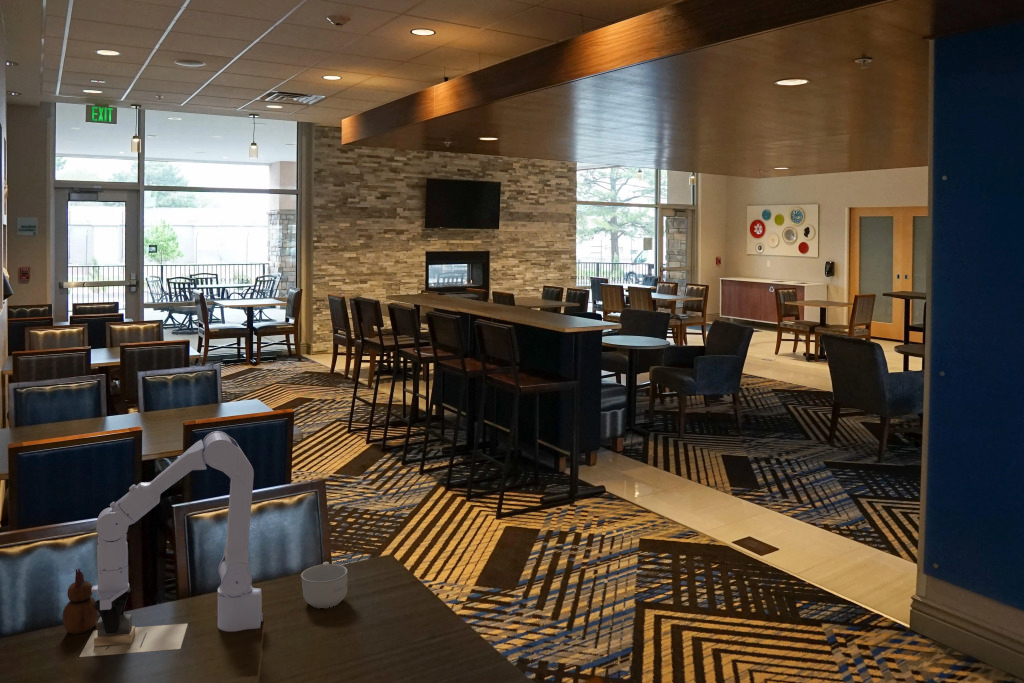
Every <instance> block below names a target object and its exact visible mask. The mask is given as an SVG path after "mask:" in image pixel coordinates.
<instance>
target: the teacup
mask: <svg viewBox="0 0 1024 683" xmlns="http://www.w3.org/2000/svg"><path fill="white" fill-rule="evenodd" d="M348 573H349V572H348V568H347V567H345V566H344V565H343V564H342V565H341V564H336V563H330V562H329V561H324V562H322V564H318V565H314V566H311V567H309V568H306V569H304V570H303V571H302V572H301V573H300V578H301V586H302V587H301V588H302V596H303V599H304V601H305V602H306V603H307V604H308V605H310V606H312V607H313V608H315V607H316V609H320V608H324V609H330V608H333V606H334V607H336V606H337V605H339V604H340V603H341V602H342V601H343V600H344V599H345V598H346V596H347V593H348ZM329 607H330V608H329Z"/></svg>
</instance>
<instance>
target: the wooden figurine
mask: <svg viewBox="0 0 1024 683" xmlns="http://www.w3.org/2000/svg"><path fill="white" fill-rule="evenodd" d="M74 580H75V581H74V582H72V583H71V584H70V585H69V586H68V589H67V599H68V602H67V604H66V605H65V606H64V607H63V611H62V623H63V627H64V629H65V631H66V633H69V634H81V633H82V634H83V633H85V632H88V631H90V630H92V629H93V628H94V627H95V626H96V624H97V621H98V620H97V619H98V615H99V612H98V611H97V610H96V608H95V602H96V601H97V600H96V599H95V598H94V597H93V596H92V595H93V592H92V591H91V589H92V587H93V586H92V583H91V582H90V581H86V580H85V577H84V573H82V571H81V569H80V568H76V569H75V579H74Z"/></svg>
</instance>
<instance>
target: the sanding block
mask: <svg viewBox="0 0 1024 683" xmlns="http://www.w3.org/2000/svg"><path fill="white" fill-rule="evenodd" d="M98 618H99V619H98V620H97V621H96V624H97V625H96V626H97V628H96V630H97V634H96V635H95V637H94V647H107V646H120V645H131V644H132V641H133V639H134V637H135V627H136V625H133V615H132V613H129V614H127V613H126V614H123V615H120V622H119V628H118V631H117V633H110V634H106V632H105V628H104V625H103V621H102V618H101V616H99V617H98Z"/></svg>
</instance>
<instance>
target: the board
mask: <svg viewBox="0 0 1024 683" xmlns="http://www.w3.org/2000/svg"><path fill="white" fill-rule="evenodd" d="M188 625H189V624H188V623H178V624H177V623H176V624H175V623H174V624H162V625H151V626H149V625H148V626H147V625H146V626H135V637H134V639H133V641H132V644H131V645H120V646H107V647H94V637H95V635H96V634H97V629H94V630H93V631H92V633H91V634H90V637H89V638H88V640H87V642H86V644H85V645H84V648H83V649H82V651H81V653H80V655H79V657H78V658H85V657H87V658H88V657H96V656H97V657H98V656H110V655H111V656H112V655H124V654H125V655H126V654H136V653H148V652H150V653H151V652H161V651H170V650H171V651H173V650H181V648H182V644H183V641H184V638H185V636H186V631H187V630H188V629H187V628H188Z"/></svg>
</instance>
